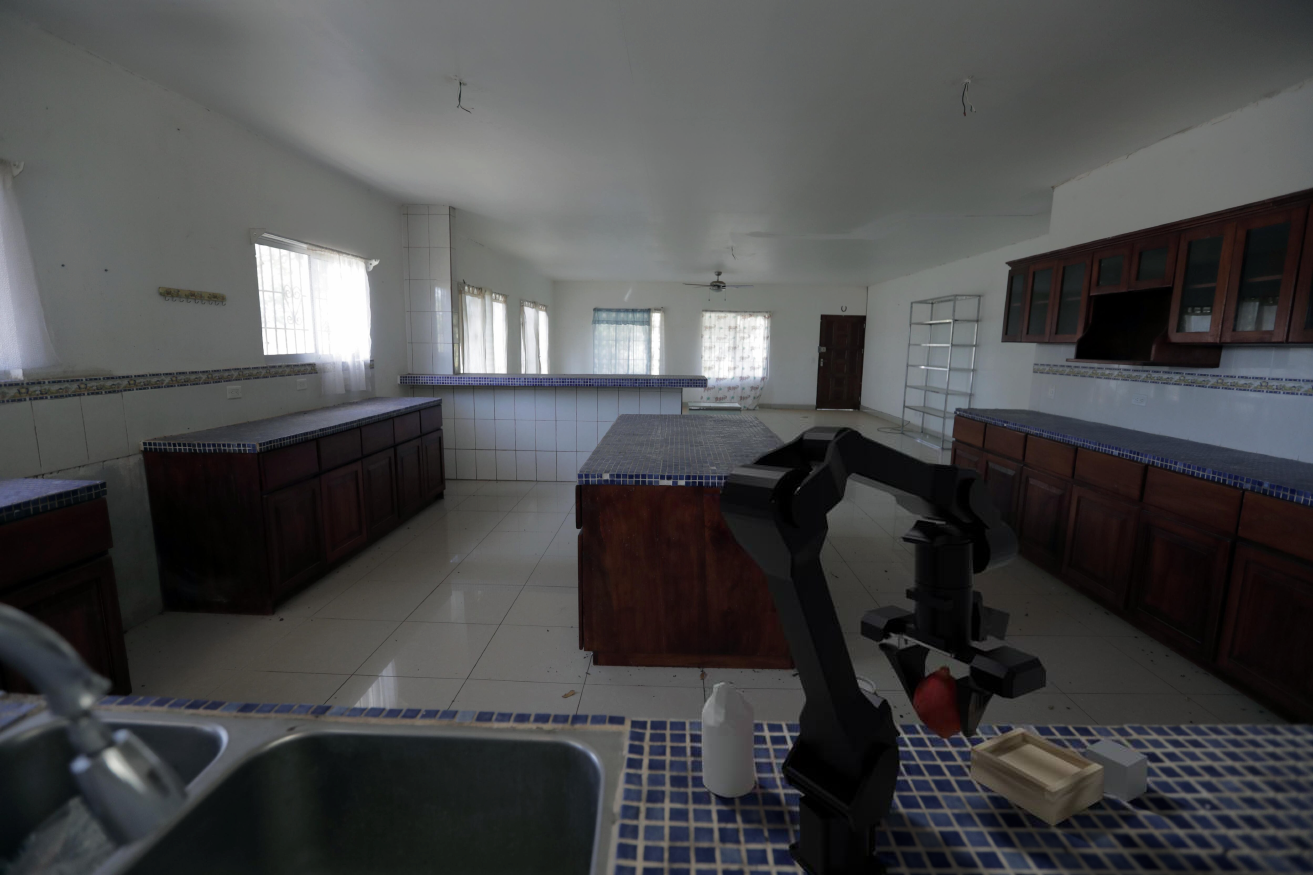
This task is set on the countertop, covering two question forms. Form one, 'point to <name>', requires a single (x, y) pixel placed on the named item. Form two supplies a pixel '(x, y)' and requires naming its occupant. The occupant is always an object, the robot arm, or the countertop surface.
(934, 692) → the red pomegranate
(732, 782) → the white plastic bottle
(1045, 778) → the square tray
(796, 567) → the robot arm
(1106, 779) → the grey cube
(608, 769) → the countertop surface
